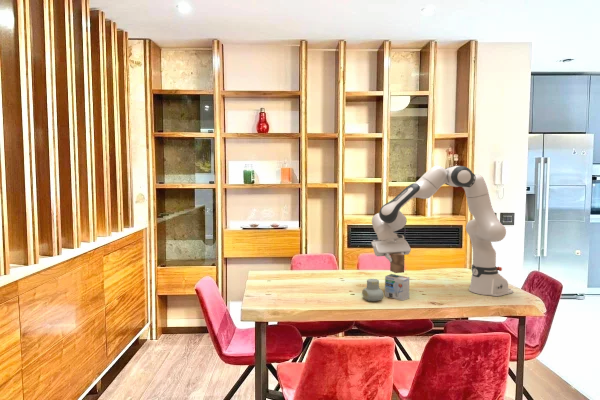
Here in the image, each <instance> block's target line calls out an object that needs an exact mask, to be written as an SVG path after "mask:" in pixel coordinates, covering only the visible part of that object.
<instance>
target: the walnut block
mask: <svg viewBox="0 0 600 400" xmlns="http://www.w3.org/2000/svg"><path fill="white" fill-rule="evenodd" d="M390 257H391V258H393V260H394V261H393V262H390V261H389V264H390V265H389V266H390V268H389V269H390V272H392V273H394V274H400V273H401V274H402V273H405V260H404V259H405V255H403V254H400V253H393V254H391V256H390Z"/></svg>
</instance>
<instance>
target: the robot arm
mask: <svg viewBox="0 0 600 400" xmlns="http://www.w3.org/2000/svg"><path fill="white" fill-rule="evenodd" d="M444 185H446V186H450V187H454V188H458V187H459V188H460V187H461V188H462V189H463V190H464V193H465V198H466V201H467V206H468V211H469V212H470V214H471V215H472V216H473V218H474V219H470V220H469V221H467V223H466V225H465V231H466V233H467V235H468V236H469V238H470V242H471V243H470V244H471V248H472V264H471V273H472V275H471V277H470V285H469V289H468V291H469V292H471V293H474V294H476V295H477V294H478V295H483V296H492V297H501V296H504V295H508V294H513V293H514V290H513V289H511V288H510V287H509V282H508V280H507V279H506V278H504V277H503V276H502V275H501V274H500V273H499V272H502V271H503V267H501V266H497V265H496V264H497V263H496V262H497V252H496V250H495V248H494V247H493V245H492V243H493V242H495V243H497V242H501V241H502V240H504V238H505V237H506V235H507V231H506V230H507V229H506V227H505V226H504V225H503V224H502V223H501V221H500V220H499V219H498V217H497V214H495V211H494V209H493V205H492V202H491V198H490V194H489V189H488V185H487V183H486V181H485V179H484V177H483V175H480V174H474V173H473V172H472V170H471V169H470V168H469V167H468V166H463V165H455V166H454V165H453V166H449V167H446V168H445V167H443V166H442V165H438V164H436V165H434V166H432V167H430V168H429V169H428V170H427V171H426V172H424V173H423V174H422V175H421V176H420V178H419V179H418V180H417V181H415V182H413V183H410V184H409V185H407V186H406V187H405V188H404V189H403V190H402V191H400V192H399V194H397V195H395V197H394V198H393V199H391V200H390V201H388V202H387V203H385V204H383V205H382V206H381V208H380V209H379V212H378V213H375V214H374V215H373V217H372V219H371V224H372V229H373V230H374V233H375V234H376V236H377V239H373V240H372V241H371V242H370V243H371V246H372V250H373V253H374V255H375V256H376V257H385V259H387V261H389V263H390V262H393V261H394V260H393V258H391V257H390V256H391V254H393V253H400V254H403V255H404V256H405V255H409V254H410V253H411V251H412V248H411V246H410V244H409V242H408V241H407V240H406V239H405V236H404V235H403V234H399V233H397V231H400V230H402V229H404V228H405V226H406V225H407V221H408V220H407V217H406V215H404V213H403V212H402V211H401V209H402V208H403V207H404V206H405V205H406V204H407V203H408V202H410V200H412V199H415V198H418V199H431V197H432V196H433V195H435V194H436V193H437V192H438V190H439V189H440V188H441V187H442V186H444ZM405 260H406V259H405V258H404V261H405Z"/></svg>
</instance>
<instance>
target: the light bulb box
mask: <svg viewBox="0 0 600 400" xmlns="http://www.w3.org/2000/svg"><path fill="white" fill-rule="evenodd" d="M384 297H387V298H391V299H395V300H398V301H405V300H407V299H409V298H410V277H409V276H404V275H399V274H395V273H394V274H392V273H390V274H387V275H385V276H384Z"/></svg>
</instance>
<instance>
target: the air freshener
mask: <svg viewBox="0 0 600 400" xmlns="http://www.w3.org/2000/svg"><path fill="white" fill-rule="evenodd" d="M361 295H362V297H363V299H365V300H366V301H368V302H378V301H381V300H382V299H383V298H384V297H385V293H384V292H383V290H382V289H381V288H380V281H379V279H377V278H368V279H366V287H365V288H363V290H362V293H361Z"/></svg>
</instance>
